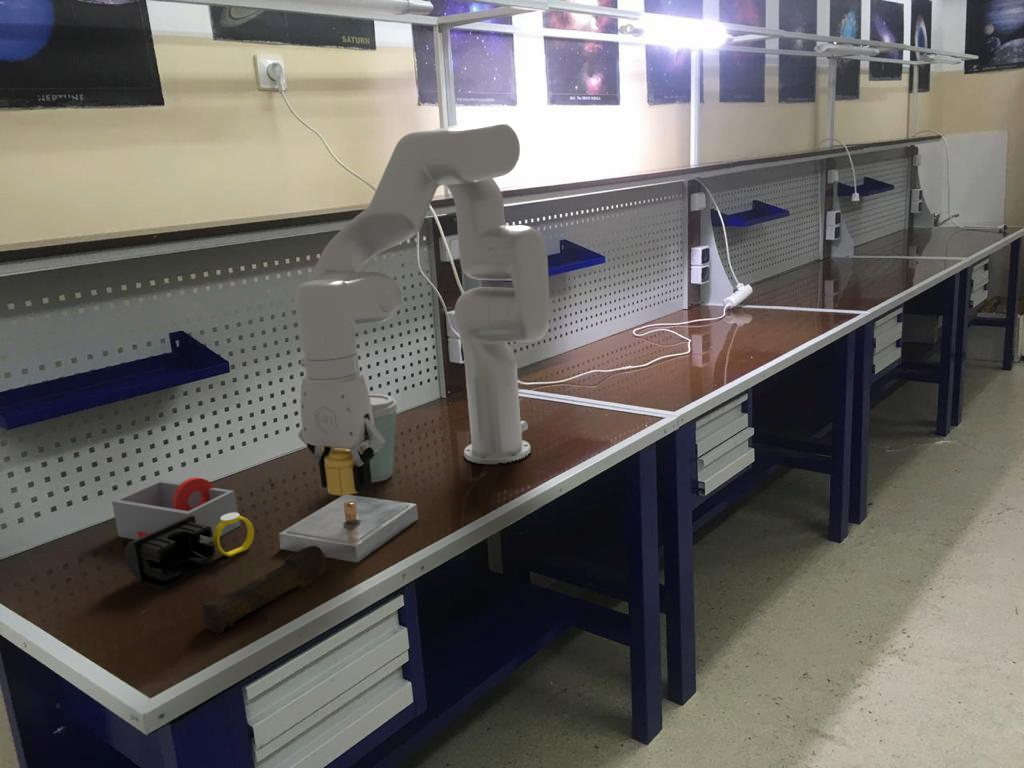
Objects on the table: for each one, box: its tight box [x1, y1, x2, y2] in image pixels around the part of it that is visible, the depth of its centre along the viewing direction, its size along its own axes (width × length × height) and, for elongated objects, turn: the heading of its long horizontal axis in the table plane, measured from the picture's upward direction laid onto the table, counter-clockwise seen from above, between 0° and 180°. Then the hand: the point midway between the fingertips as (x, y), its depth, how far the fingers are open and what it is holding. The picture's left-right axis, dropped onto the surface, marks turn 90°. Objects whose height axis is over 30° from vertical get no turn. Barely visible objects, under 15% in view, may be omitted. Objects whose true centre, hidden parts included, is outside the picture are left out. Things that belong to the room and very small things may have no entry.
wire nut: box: [324, 448, 359, 497], centre depth 127 cm, size 5×5×6 cm
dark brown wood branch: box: [201, 546, 328, 634], centre depth 113 cm, size 19×4×5 cm, turn 142°
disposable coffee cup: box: [359, 393, 399, 483], centre depth 155 cm, size 11×11×15 cm
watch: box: [212, 512, 255, 558], centre depth 128 cm, size 6×3×6 cm, turn 137°
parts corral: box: [111, 479, 241, 544], centre depth 138 cm, size 10×17×6 cm, turn 63°
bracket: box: [138, 476, 215, 538], centre depth 137 cm, size 12×4×8 cm, turn 138°
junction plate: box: [278, 494, 419, 564], centre depth 132 cm, size 16×14×6 cm
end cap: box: [124, 516, 216, 591], centre depth 123 cm, size 10×7×7 cm
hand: (346, 485), depth 128 cm, fingers closed on wire nut, 5 cm apart
